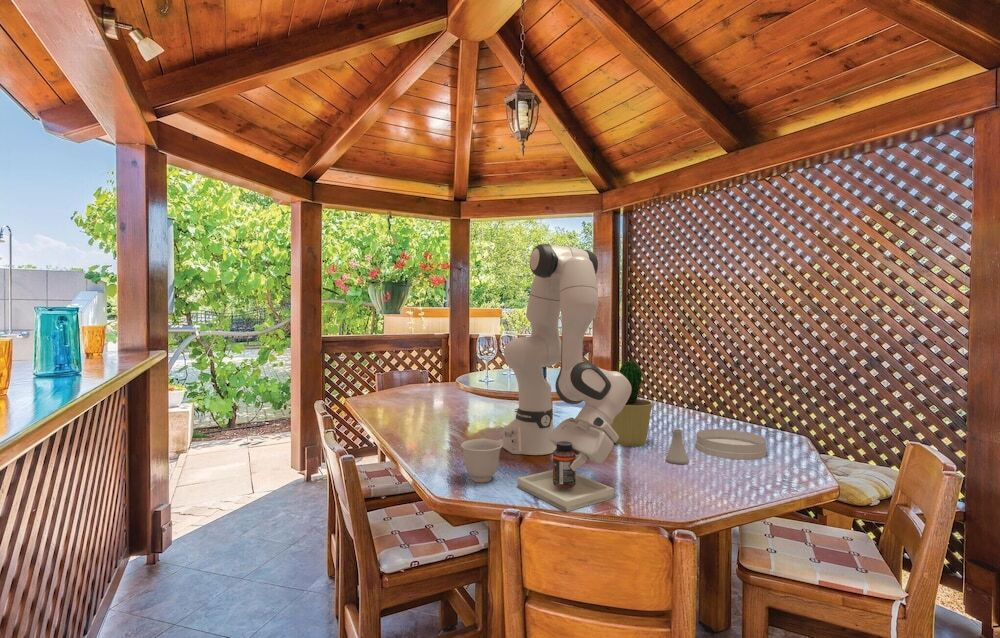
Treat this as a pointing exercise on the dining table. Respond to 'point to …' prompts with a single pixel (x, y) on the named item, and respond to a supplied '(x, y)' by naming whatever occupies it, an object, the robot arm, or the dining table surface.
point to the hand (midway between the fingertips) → (562, 465)
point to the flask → (677, 449)
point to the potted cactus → (633, 411)
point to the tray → (566, 491)
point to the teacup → (481, 458)
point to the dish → (731, 444)
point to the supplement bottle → (563, 465)
